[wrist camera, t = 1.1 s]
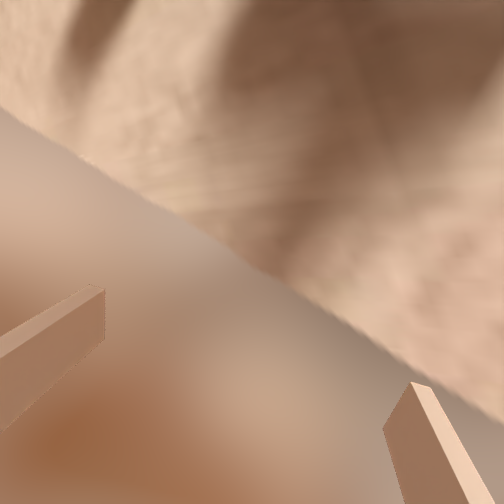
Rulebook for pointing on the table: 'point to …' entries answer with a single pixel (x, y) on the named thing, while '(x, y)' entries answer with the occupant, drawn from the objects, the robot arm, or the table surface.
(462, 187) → the table surface
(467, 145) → the table surface
